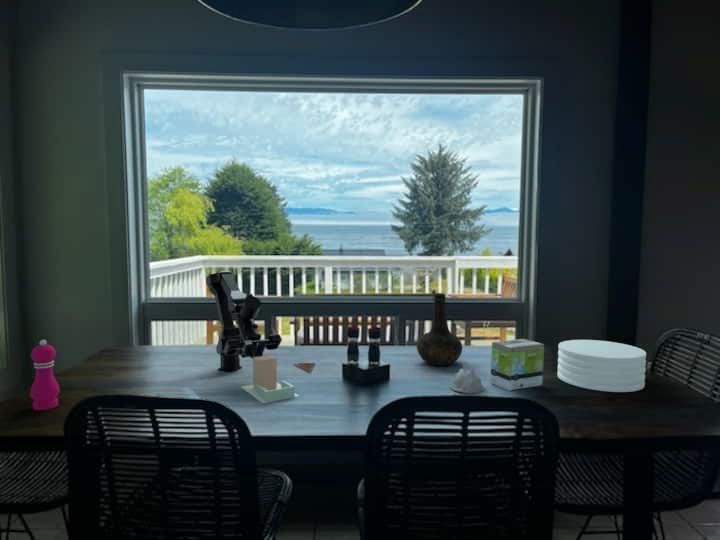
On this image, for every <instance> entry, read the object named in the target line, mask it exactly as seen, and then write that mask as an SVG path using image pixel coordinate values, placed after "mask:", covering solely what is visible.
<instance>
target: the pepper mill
mask: <svg viewBox="0 0 720 540" xmlns="http://www.w3.org/2000/svg"><path fill="white" fill-rule="evenodd" d="M56 355H57V353H56V349H55V348H54V346H52V345H50V344H48V343H47V340H46V339H42V340H40V341H39V345H37V346H36V347H33V349H32V351H31V353H30V356H31V359H32V360H33V368H34V369H35V378H34V381H33V384H32V386H31V389H30V397H31V399H32V400H33V402H32V408H33V410H35V411H47V410H51V409H54V408H57V407H58V405H59V399H58V396H59V394H60V386H59V383H58V381H57V380H56V378H55V376H54V372H53V367H54V366H55V360H54V358H55V357H56Z"/></svg>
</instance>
